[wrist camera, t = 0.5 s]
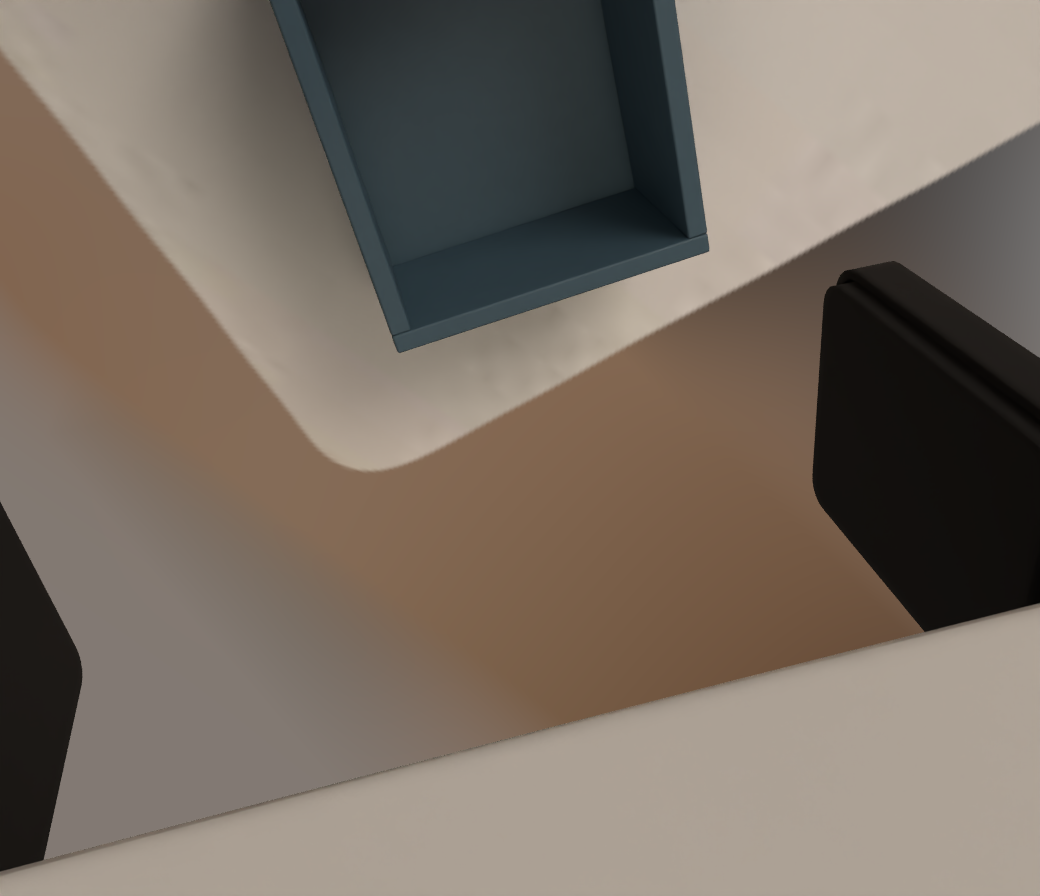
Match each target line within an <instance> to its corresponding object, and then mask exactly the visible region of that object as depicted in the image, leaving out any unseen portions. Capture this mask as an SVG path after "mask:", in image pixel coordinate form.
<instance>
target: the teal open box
mask: <svg viewBox="0 0 1040 896" xmlns="http://www.w3.org/2000/svg"><path fill="white" fill-rule="evenodd" d="M269 1H270V3H271V6H272V9H273V12H274V14H275V17H276V20H277V23H278V25H279V28H280V31H281V34H282V36H283V39H284V42H285V45H286V47H287V50H288V53H289V56H290V58H291V61H292V64H293V67H294V69H295V72H296V75H297V78H298V80H299V83H300V86H301V88H302V91H303V94H304V97H305V99H306V102H307V105H308V108H309V110H310V113H311V116H312V119H313V121H314V124H315V127H316V130H317V132H318V135H319V138H320V141H321V143H322V146H323V149H324V152H325V154H326V157H327V160H328V163H329V165H330V168H331V171H332V174H333V176H334V179H335V182H336V185H337V187H338V190H339V193H340V196H341V198H342V201H343V204H344V206H345V209H346V212H347V215H348V217H349V220H350V223H351V226H352V228H353V231H354V234H355V237H356V239H357V242H358V245H359V248H360V250H361V253H362V256H363V259H364V261H365V264H366V267H367V270H368V272H369V275H370V278H371V281H372V283H373V286H374V289H375V292H376V294H377V297H378V300H379V303H380V305H381V308H382V311H383V314H384V316H385V319H386V322H387V325H388V327H389V330H390V333H391V334H392V338H393V341H394V344H395V346H396V349H397V352H398V353H401V352H404V351H407V350H410V349H413V348H416V347H420V346H423V345H426V344H429V343H432V342H435V341H438V340H441V339H444V338H447V337H450V336H453V335H456V334H459V333H462V332H465V331H468V330H471V329H474V328H477V327H480V326H483V325H487V324H490V323H493V322H496V321H499V320H502V319H505V318H508V317H511V316H514V315H517V314H520V313H523V312H526V311H529V310H532V309H535V308H538V307H541V306H544V305H547V304H550V303H553V302H557V301H560V300H563V299H566V298H569V297H572V296H575V295H578V294H581V293H584V292H587V291H590V290H593V289H596V288H599V287H602V286H605V285H608V284H611V283H614V282H617V281H620V280H624V279H627V278H630V277H633V276H636V275H639V274H642V273H645V272H648V271H651V270H654V269H657V268H660V267H663V266H666V265H669V264H672V263H675V262H678V261H681V260H684V259H687V258H691V257H694V256H697V255H700V254H703V253H706V252H708V251H709V243H708V236H707V234H706V232H707V228H706V221H705V214H704V207H703V200H702V193H701V185H700V178H699V171H698V164H697V157H696V150H695V143H694V135H693V128H692V121H691V114H690V107H689V100H688V92H687V85H686V78H685V71H684V64H683V57H682V50H681V42H680V35H679V28H678V21H677V14H676V7H675V0H269Z"/></svg>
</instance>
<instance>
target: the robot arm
mask: <svg viewBox="0 0 1040 896" xmlns="http://www.w3.org/2000/svg"><path fill="white" fill-rule="evenodd" d="M813 487H814V491H815V494H816V497H817V499H818V502H819V504H820V505H821V507H822V508H823V509H824V511H825V512H826V513H827V514H828V515H829V517H830V518H831V519H832V520H833V521H834V523H835V524H836V525H837V526H838V527H839V529H840V530H841V531H842V532H843V533H844V535H845V536H846V537H847V538H848V540H849V541H850V542H851V543H852V544H853V546H854V547H855V548H856V549H857V550H858V552H859V553H860V554H861V555H862V556H863V558H864V559H865V560H866V561H867V563H868V564H869V565H870V566H871V567H872V569H873V570H874V571H875V572H876V573H877V575H878V576H879V577H880V578H881V579H882V581H883V582H884V583H885V584H886V586H887V587H888V588H889V589H890V590H891V592H892V593H893V594H894V595H895V596H896V597H897V599H898V600H899V601H900V602H901V604H902V605H903V606H904V607H905V609H906V610H907V611H908V612H909V613H910V615H911V616H912V617H913V618H914V619H915V621H916V622H917V623H918V624H919V625H920V627H921V628H922V629H923V630H924V632H923V633H920V634H915V635H912V636H908V637H904V638H900V639H896V640H892V641H888V642H884V643H880V644H876V645H872V646H868V647H864V648H860V649H856V650H852V651H848V652H844V653H840V654H836V655H832V656H829V657H825V658H820V659H816V660H813V661H809V662H805V663H801V664H797V665H793V666H789V667H785V668H781V669H778V670H773V671H770V672H766V673H762V674H758V675H754V676H750V677H746V678H742V679H738V680H734V681H730V682H726V683H723V684H718V685H715V686H711V687H707V688H703V689H699V690H695V691H691V692H687V693H683V694H680V695H676V696H672V697H668V698H664V699H660V700H656V701H652V702H648V703H645V704H641V705H637V706H633V707H629V708H625V709H621V710H617V711H613V712H609V713H606V714H602V715H598V716H594V717H590V718H586V719H582V720H578V721H575V722H571V723H567V724H563V725H559V726H555V727H551V728H547V729H543V730H540V731H536V732H532V733H528V734H525V735H520V736H517V737H513V738H509V739H505V740H501V741H497V742H493V743H490V744H485V745H482V746H478V747H474V748H470V749H466V750H462V751H458V752H455V753H451V754H447V755H443V756H439V757H435V758H432V759H427V760H424V761H420V762H416V763H412V764H409V765H405V766H400V767H397V768H393V769H389V770H386V771H381V772H377V773H374V774H370V775H366V776H362V777H358V778H354V779H351V780H347V781H343V782H339V783H335V784H331V785H328V786H324V787H320V788H317V789H313V790H309V791H305V792H301V793H297V794H294V795H289V796H286V797H282V798H278V799H274V800H270V801H266V802H263V803H259V804H255V805H251V806H247V807H244V808H240V809H236V810H232V811H229V812H225V813H221V814H217V815H213V816H209V817H206V818H202V819H198V820H194V821H191V822H187V823H183V824H179V825H175V826H171V827H168V828H164V829H160V830H156V831H153V832H149V833H145V834H141V835H137V836H134V837H130V838H126V839H122V840H118V841H115V842H111V843H107V844H103V845H99V846H96V847H92V848H88V849H84V850H81V851H77V852H73V853H69V854H65V855H61V856H58V857H54V858H50V859H46V860H44V855H45V851H46V846H47V842H48V837H49V832H50V828H51V823H52V818H53V814H54V809H55V805H56V800H57V795H58V791H59V786H60V781H61V777H62V772H63V768H64V763H65V759H66V754H67V749H68V745H69V740H70V736H71V730H72V726H73V722H74V717H75V712H76V708H77V703H78V699H79V694H80V689H81V685H82V666H81V661H80V657H79V653H78V651H77V649H76V646H75V645H74V643H73V641H72V639H71V637H70V635H69V633H68V631H67V629H66V627H65V625H64V623H63V621H62V620H61V618H60V616H59V614H58V612H57V610H56V608H55V606H54V604H53V602H52V601H51V598H50V597H49V595H48V593H47V591H46V589H45V587H44V585H43V583H42V581H41V579H40V578H39V575H38V574H37V572H36V570H35V568H34V566H33V564H32V562H31V560H30V558H29V556H28V554H27V552H26V551H25V549H24V547H23V545H22V543H21V541H20V539H19V537H18V535H17V533H16V531H15V529H14V527H13V526H12V524H11V522H10V520H9V518H8V516H7V514H6V512H5V510H4V508H3V506H2V504H1V502H0V896H1040V358H1039V357H1037V356H1036V355H1034V354H1033V353H1031V352H1030V351H1028V350H1027V349H1026V348H1024V347H1022V346H1021V345H1020V344H1018V343H1017V342H1015V341H1014V340H1012V339H1011V338H1009V337H1008V336H1006V335H1005V334H1003V333H1002V332H1000V331H999V330H997V329H996V328H994V327H993V326H992V325H990V324H989V323H987V322H986V321H984V320H983V319H981V318H980V317H978V316H976V315H975V314H974V313H972V312H971V311H969V310H968V309H966V308H965V307H963V306H962V305H960V304H959V303H957V302H956V301H955V300H953V299H951V298H950V297H949V296H947V295H946V294H944V293H943V292H941V291H940V290H938V289H936V288H935V287H934V286H932V285H931V284H929V283H928V282H926V281H925V280H923V279H922V278H921V277H919V276H918V275H916V274H915V273H913V272H912V271H910V270H909V269H907V268H906V267H904V266H903V265H901V264H900V263H897V262H895V261H891V262H886V263H881V264H876V265H871V266H866V267H861V268H857V269H852V270H847V271H844V272H843V273H842V274H841V275H840V277H839V279H838V282H837V285H836V286H831V287H830V288H829V289H828V290H827V292H826V294H825V298H824V306H823V321H822V337H821V353H820V368H819V383H818V398H817V415H816V429H815V445H814V460H813Z"/></svg>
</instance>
